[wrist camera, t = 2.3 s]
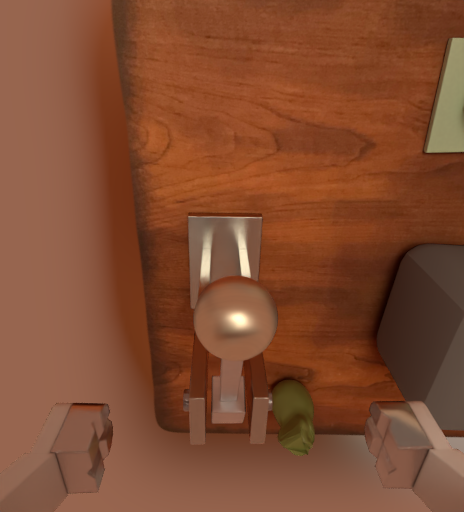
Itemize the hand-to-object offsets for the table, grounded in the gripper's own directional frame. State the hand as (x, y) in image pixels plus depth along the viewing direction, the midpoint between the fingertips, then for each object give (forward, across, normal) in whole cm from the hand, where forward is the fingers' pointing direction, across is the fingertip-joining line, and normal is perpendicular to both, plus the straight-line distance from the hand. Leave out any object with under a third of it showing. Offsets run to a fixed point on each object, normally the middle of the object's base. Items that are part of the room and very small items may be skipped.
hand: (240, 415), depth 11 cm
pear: (+30, -9, +31) cm, 44 cm away
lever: (+9, 0, +4) cm, 10 cm away
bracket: (+30, 0, +11) cm, 32 cm away
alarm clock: (+30, -25, +16) cm, 42 cm away
